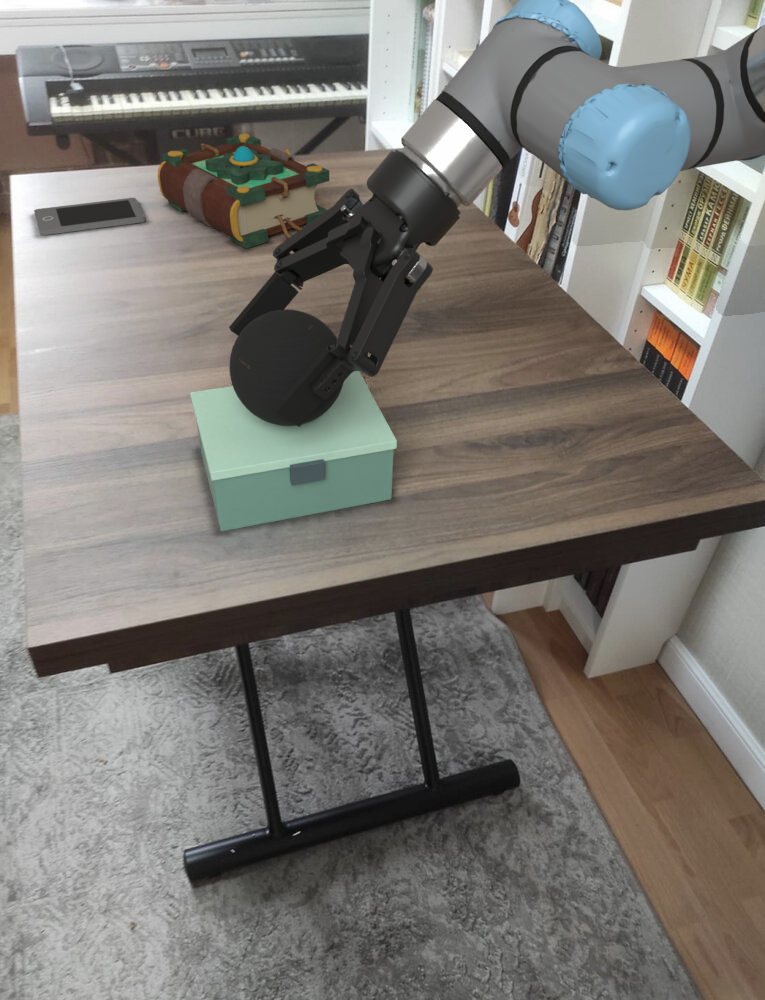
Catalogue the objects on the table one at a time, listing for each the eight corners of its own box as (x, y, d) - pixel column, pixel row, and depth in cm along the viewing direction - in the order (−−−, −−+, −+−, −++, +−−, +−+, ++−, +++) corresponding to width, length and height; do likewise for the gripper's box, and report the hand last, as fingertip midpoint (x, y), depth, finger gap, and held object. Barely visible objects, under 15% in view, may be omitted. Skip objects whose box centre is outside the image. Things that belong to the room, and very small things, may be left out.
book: (375, 228, 124) (377, 160, 118) (260, 268, 113) (255, 195, 107) (269, 176, 139) (265, 113, 132) (157, 207, 128) (147, 140, 121)
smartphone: (136, 201, 129) (135, 196, 129) (146, 221, 123) (145, 217, 123) (34, 213, 125) (33, 209, 124) (40, 235, 119) (39, 230, 118)
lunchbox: (355, 422, 87) (356, 365, 83) (395, 503, 78) (398, 443, 73) (197, 448, 83) (189, 389, 79) (219, 537, 74) (211, 476, 69)
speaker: (219, 440, 73) (206, 339, 66) (254, 379, 80) (245, 283, 74) (330, 456, 72) (329, 355, 65) (355, 392, 79) (356, 296, 72)
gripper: (534, 271, 61) (342, 477, 66) (398, 157, 78) (254, 328, 83) (477, 208, 55) (273, 437, 61) (344, 101, 73) (194, 287, 78)
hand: (261, 374), depth 72 cm, fingers open, 13 cm apart
